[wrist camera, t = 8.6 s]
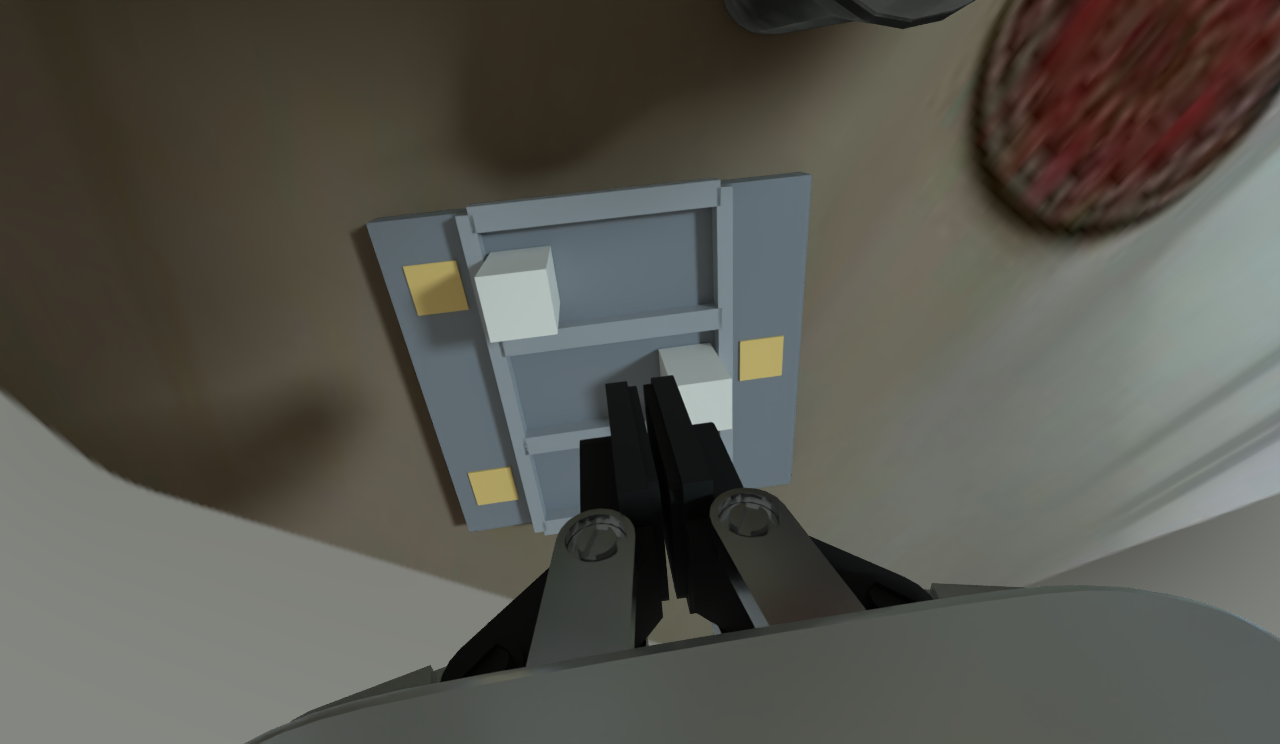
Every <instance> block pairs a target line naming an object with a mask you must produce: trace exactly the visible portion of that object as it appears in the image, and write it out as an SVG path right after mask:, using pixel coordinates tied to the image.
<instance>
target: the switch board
mask: <svg viewBox="0 0 1280 744" xmlns="http://www.w3.org/2000/svg"><path fill="white" fill-rule="evenodd" d="M811 183H812V174H807V173H802V172H795V173H786V174H777V175H767V176H758V177H749V178H740V179H731V180H722V181H721V180H720V179H717V178H708V179H698V180H689V181H680V182H671V183H662V184H652V185H643V186H634V187H625V188H615V189H606V190H597V191H588V192H578V193H569V194H560V195H551V196H542V197H532V198H523V199H514V200H505V201H495V202H486V203H477V204H470V205H469V206H467V207H466V208H464V209H455V210H446V211H437V212H428V213H418V214H409V215H400V216H391V217H382V218H376V219H374V220H372V221H370V222H368V223H366V226H367V229H368V232H369V235H370V238H371V241H372V244H373V247H374V250H375V253H376V256H377V259H378V262H379V265H380V268H381V271H382V274H383V277H384V280H385V283H386V286H387V288H388V291H389V294H390V297H391V300H392V303H393V306H394V309H395V312H396V315H397V318H398V321H399V324H400V327H401V330H402V333H403V336H404V339H405V342H406V345H407V348H408V351H409V354H410V357H411V360H412V363H413V366H414V369H415V372H416V375H417V378H418V381H419V384H420V387H421V389H422V392H423V395H424V398H425V401H426V404H427V407H428V410H429V413H430V416H431V419H432V422H433V425H434V428H435V431H436V434H437V437H438V440H439V443H440V446H441V449H442V452H443V455H444V458H445V461H446V464H447V467H448V470H449V473H450V476H451V479H452V482H453V485H454V487H455V490H456V493H457V496H458V499H459V502H460V505H461V508H462V511H463V514H464V517H465V520H466V523H467V526H468V529H469V532H472V531H479V530H485V529H492V528H499V527H505V526H512V525H518V524H525V523H531V522H532V523H533V527H534V531H535V533H537V532H544V533H545V535H551V534H557V533H559V531H560V529H561V528H562V527H563V526H564V525H565V523H566V522H567V521H568V520H570V519H571V518H573V517H574V516H576V515H577V514H580V440H584V439H591V438H598V437H606V436H611V433H610V424H609V415H608V406H607V397H606V388H605V384H607V383H615V382H623V381H627V384H628V387H629V386H637V390H638V395H639V399H640V403H641V408H642V412H643V417H644V421H645V425H646V414H645V403H644V392H643V385H645V384H651V378H654V377H660V364H659V351H658V349H664V348H672V347H679V346H687V345H695V344H702V343H710V344H711V345H712V347H713V349H714V350H715V352H716V353H717V355H718V357H719V358H720V360H721V362H722V363H723V365H724V366H725V368H726V370H727V371H728V373H729V374H730V376H731V378H732V429H728V430H721V431H718V432H719V434H720V437H721V439H722V441H723V443H724V445H725V448H726V450H727V452H728V454H729V456H730V458H731V461H732V463H733V465H734V467H735V469H736V472H737V474H738V476H739V478H740V480H741V482H742V485H743V487H744V488H761V487H768V486H774V485H781V484H788V483H791V473H792V458H793V444H794V429H795V415H796V400H797V386H798V371H799V357H800V342H801V328H802V313H803V299H804V284H805V270H806V255H807V241H808V226H809V212H810V197H811ZM542 246H551V252H552V257H553V263H554V269H555V275H556V281H557V287H558V293H559V298H560V310H559V323H558V334H555V335H548V336H540V337H532V338H524V339H516V340H508V341H500V342H493V343H490V339H489V335H488V330H487V326H486V322H485V318H484V314H483V310H482V306H481V302H480V298H479V294H478V290H477V286H476V282H475V278H474V277H475V276H476V274H477V272H478V271H479V269H480V268H481V266H482V265H483V263H484V262H485V260H486V259H487V257H488V255H489V254H490V252H499V251H507V250H516V249H525V248H534V247H542ZM646 430H647V425H646Z"/></svg>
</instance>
